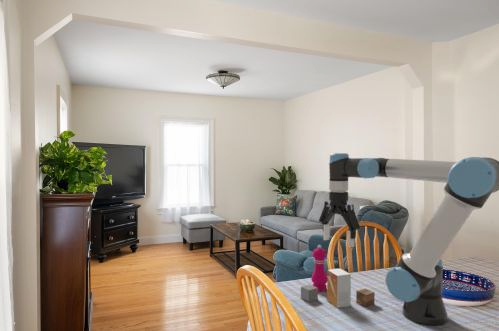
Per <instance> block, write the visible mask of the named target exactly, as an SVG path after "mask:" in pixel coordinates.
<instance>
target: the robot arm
mask: <svg viewBox="0 0 499 331" xmlns="http://www.w3.org/2000/svg"><path fill="white" fill-rule="evenodd" d="M349 156H350V155H349V154H348V153H347V152H346V153H345V152H344V153H341V152H338V153H336V152H335V153H331V154H329V163H328V166H329V181H328V183H329V185H328V190H329V192H328V194H329V195H328V196H329V198H328V199H329V200H328V201H327V200H326V201H324V204H323V207H322V211H321V214H320V215H319V216H320V217H319V218H318V222H319V223H321V224H322V232H323V234H322V235H323V241H328V240H329V241H330V221H331V220H332V218H333V217H334V216H335V215H336V214H337V215H340V216H341V217H342V218H343V220H344V222H345V223H346V226H347V227H348V230H347V247H348V248H353V247H355V239H356V233H357V232H356V231H357V230H360V229H361V226H360V223H359V221H358V220H359V219H358V217H357V216H356V213H355V207H354V204H348V201H349V192H348V191H349V178H359V179H361V178H362V179H374V178H377V177H378V178H379V177H380V178H389V179H390V178H393V179H402V180H413V181H414V180H415V181H423V182H432V183H433V182H434V183H442V184H443V183H446V184H445V186H444V188H443V191H444V194H445V196H444V197H443V199H442V201H440V204H439V206H438V207H437V209H436V210H435V211H434V213H433V215H432V217H430V220H429V222H428V223H427V225H426V226H425V227H424V229H423V231H422V233H421V234H420V236H419V238H417V241H416V242H415V244H414V246H413V247H412V249H411V250H410V251H409V252H406V253H403V254H402V256H401V257H400V259H399V260H398V262H397V263H396V265H395V267H392V268H390V269H389V270H388V271H387V272H386V274H385V285H386V286H387V290H388V291H389V293H390V294H391V296H393V297H394V298H395V299H397V300H398V301H400V302H403V305H402V315H403V316H404V317H405V318H406V319H408V320H410V321H412V322H415V323H417V324H422V325H427V326H441V325H445V324H447V322H448V311H447V309H446V305H445V303H444V300H443V273H444V272H443V271H444V270H443V269H444V265H443V260H442V257H443V256H444V254H445V253H446V251H447V250H448V248H449V247H450V245H451V244H452V242H453V241H454V240H455V238H456V236H457V235H458V233H459V232H460V231H461V229H462V227H463V226H464V225H465V223H466V221H467V220H468V218H469V217H470V215H471V214H472V212H473V211H474V210H480V209H483V206H484V205H485V203H487V201H488V199H489V198H490V196H491V195H492V194H494V193H496V192H498V191H499V160H497V159H496V158H491V157H479V156H472V157H471V156H470V157H466V158H465V157H464V158H463V159H461V160H459V161H446V160H444V161H443V160H424V159H423V160H422V159H407V158H406V159H405V158H404V159H402V158H401V159H400V158H385V157H378V158H377V157H374V158H373V157H371V158H370V157H360V158H357V157H356V158H354V157H353V158H351V157H349Z"/></svg>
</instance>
